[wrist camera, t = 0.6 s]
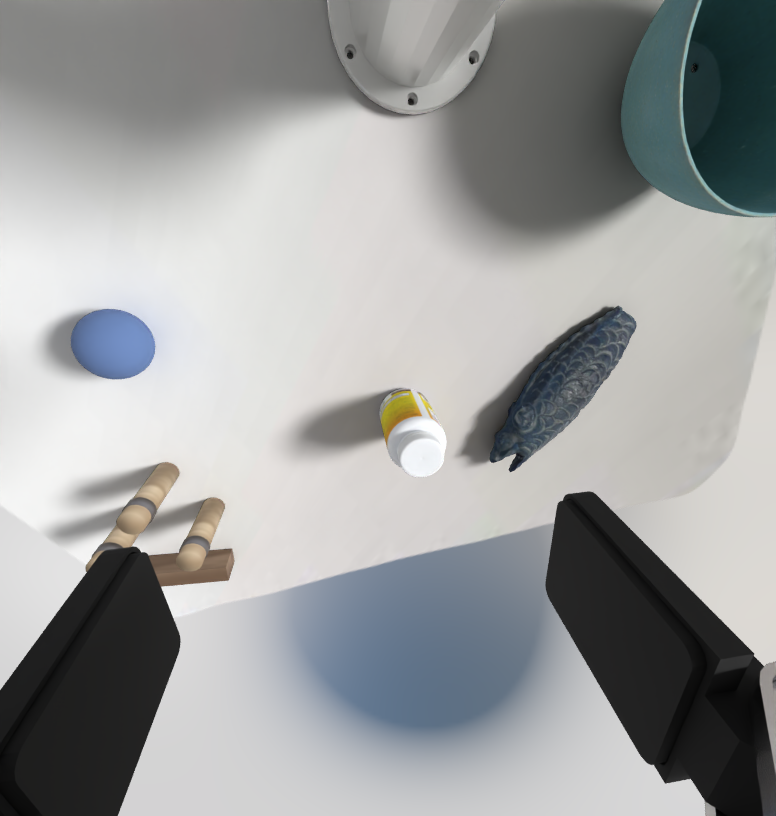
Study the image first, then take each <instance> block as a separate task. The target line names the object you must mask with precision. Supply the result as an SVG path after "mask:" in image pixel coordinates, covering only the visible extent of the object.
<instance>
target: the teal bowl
mask: <svg viewBox="0 0 776 816" xmlns="http://www.w3.org/2000/svg"><path fill="white" fill-rule="evenodd" d="M693 64H696V65H697V70H696V71H695V72H694V73H693V72H692V71H691V67H692V65H693ZM621 128H622V135H623V140H624V144H625V147H626V150H627V152H628V155H629V157H630V159H631V161H632V163H633V164H634V166H635V167H636V169H637V170H638V171H639V173H640V174H641V175H642V176H643V177H644V178H645V179H646V180H647V181H648V182H649V183H650V184H651V185H652V186H654V187H655V188H656V189H658V190H659V191H660V192H662V193H664V194H665V195H667V196H669V197H671V198H673V199H675V200H677V201H679V202H681V203H684V204H686V205H689V206H692V207H695V208H698V209H702V210H706V211H710V212H714V213H720V214H726V215H733V216H743V217H776V0H664V2H663V4H662V5H661V7H660V9H659V10H658V12H657V13H656V15H655V17H654V18H653V20H652V22H651V24H650V25H649V27H648V29H647V31H646V33H645V35H644V37H643V39H642V41H641V43H640V45H639V47H638V50H637V52H636V54H635V57H634V59H633V62H632V64H631V67H630V70H629V73H628V76H627V80H626V84H625V88H624V93H623V99H622V106H621Z"/></svg>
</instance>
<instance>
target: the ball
mask: <svg viewBox="0 0 776 816" xmlns="http://www.w3.org/2000/svg"><path fill="white" fill-rule="evenodd" d="M71 347H72V351H73V353H74V355H75V357H76V359H77V360H78V362H79V363H80V364H81V365H82V366H83V367H84V368H85V369H87V370H88V371H90V372H91V373H93V374H95V375H97V376H100V377H104V378H108V379H125V378H130V377H133V376H135V375H137V374H139V373H141V372H142V371H144V370H145V369H146V368H147V367H148V366H149V364H150V363H151V361H152V359H153V357H154V353H155V341H154V338H153V335H152V333H151V331H150V330H149V328H148V327H147V326H146V325H145V323H144V322H142V321H141V320H140V319H139V318H137V317H136V316H134V315H132V314H130V313H127V312H125V311H121V310H115V309H103V310H98V311H94V312H92V313H89V314H88V315H86V316H84V317H83V318H82V319H81V320H80V321H79V322H78V323H77V324H76V326H75V327H74V329H73V332H72V336H71Z"/></svg>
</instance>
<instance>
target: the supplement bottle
mask: <svg viewBox="0 0 776 816" xmlns="http://www.w3.org/2000/svg"><path fill="white" fill-rule="evenodd" d="M380 421H381V425H382V429H383V433H384V437H385V441H386V445H387V450H388V453H389V456H390V458H391V459H392V461H393V462H394V463H395V464H396V465H398V466H399V467H401V468H402V469H403V470H404V471H405V472H406V473H407V474H409V475H411V476H414V477H426V476H429V475H431V474H433V473H435V472H436V471H437V470H438V469H439V468H440V467H441V465H442V463H443V460H444V451H445V448H446V436H445V433H444V430H443V428H442V426H441V425H440V423H439V421H438V419H437V417H436V415H435V413H434V412H433V410H432V408H431V406H430V404H429V403H428V401H427V399H426V398H425V397H424V396H423V395H422V394H421V393H420V392H418V391H416V390H413V389H399V390H396V391H394V392H392V393H390V394H389V395H388V396H387V397H386V398H385V399H384V401H383V402H382V404H381V407H380Z"/></svg>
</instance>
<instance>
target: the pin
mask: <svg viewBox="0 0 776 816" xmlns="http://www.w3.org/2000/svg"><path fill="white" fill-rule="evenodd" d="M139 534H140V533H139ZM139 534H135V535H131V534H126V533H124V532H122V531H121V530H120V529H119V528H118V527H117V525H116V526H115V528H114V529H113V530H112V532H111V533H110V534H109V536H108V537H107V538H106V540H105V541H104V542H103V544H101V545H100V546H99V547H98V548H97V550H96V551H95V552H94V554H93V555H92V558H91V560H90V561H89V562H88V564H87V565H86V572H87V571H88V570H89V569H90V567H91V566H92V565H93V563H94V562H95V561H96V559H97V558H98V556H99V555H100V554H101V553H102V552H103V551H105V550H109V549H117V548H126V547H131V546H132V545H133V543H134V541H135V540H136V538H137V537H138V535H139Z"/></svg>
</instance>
